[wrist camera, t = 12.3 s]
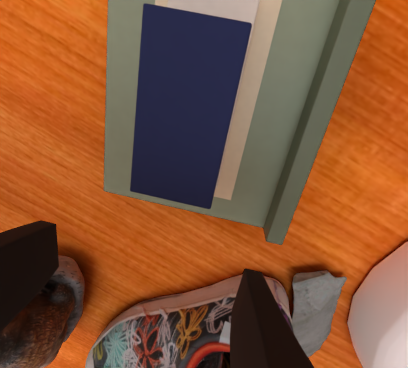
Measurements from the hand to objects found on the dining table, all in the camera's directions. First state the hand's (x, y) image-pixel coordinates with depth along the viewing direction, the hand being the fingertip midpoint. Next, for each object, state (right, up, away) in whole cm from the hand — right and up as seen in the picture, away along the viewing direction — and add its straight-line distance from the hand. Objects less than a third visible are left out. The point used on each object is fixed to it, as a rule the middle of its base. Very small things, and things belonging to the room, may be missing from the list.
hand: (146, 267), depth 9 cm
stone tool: (+9, -9, +11) cm, 16 cm away
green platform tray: (+3, +9, +7) cm, 11 cm away
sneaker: (0, -10, +15) cm, 18 cm away
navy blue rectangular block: (+2, +8, +4) cm, 9 cm away
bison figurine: (-12, -7, +15) cm, 21 cm away
